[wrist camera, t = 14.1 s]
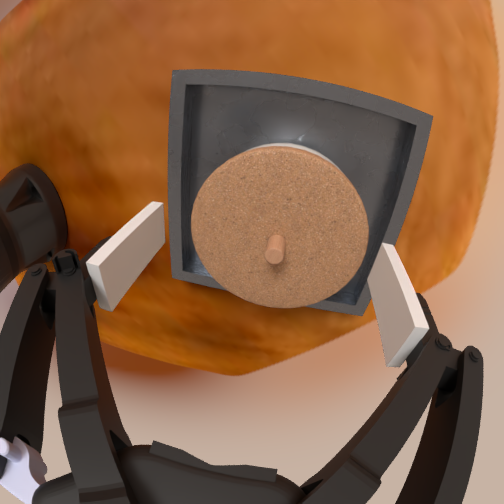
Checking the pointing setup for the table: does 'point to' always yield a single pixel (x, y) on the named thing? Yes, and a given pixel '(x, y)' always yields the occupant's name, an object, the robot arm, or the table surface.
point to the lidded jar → (280, 226)
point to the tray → (297, 132)
